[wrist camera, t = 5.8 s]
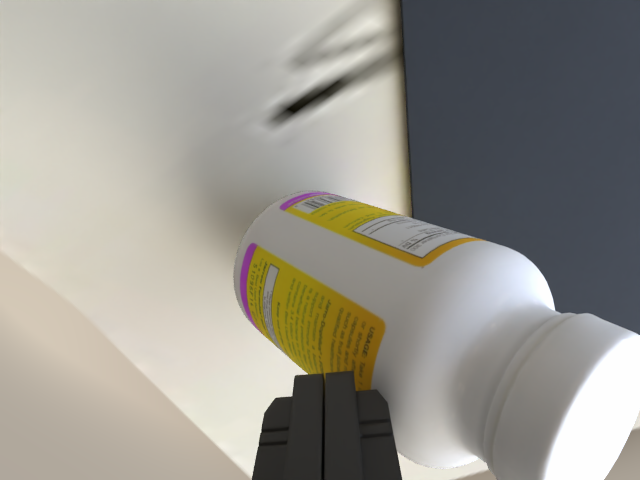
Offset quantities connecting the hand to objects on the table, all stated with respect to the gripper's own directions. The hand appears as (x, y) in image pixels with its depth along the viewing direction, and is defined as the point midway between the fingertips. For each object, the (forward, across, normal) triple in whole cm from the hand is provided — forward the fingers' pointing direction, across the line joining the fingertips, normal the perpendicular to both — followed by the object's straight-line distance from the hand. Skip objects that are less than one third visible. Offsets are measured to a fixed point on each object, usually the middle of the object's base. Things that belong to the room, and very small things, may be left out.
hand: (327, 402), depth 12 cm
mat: (+11, -11, -3) cm, 16 cm away
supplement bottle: (+9, +1, 0) cm, 9 cm away
